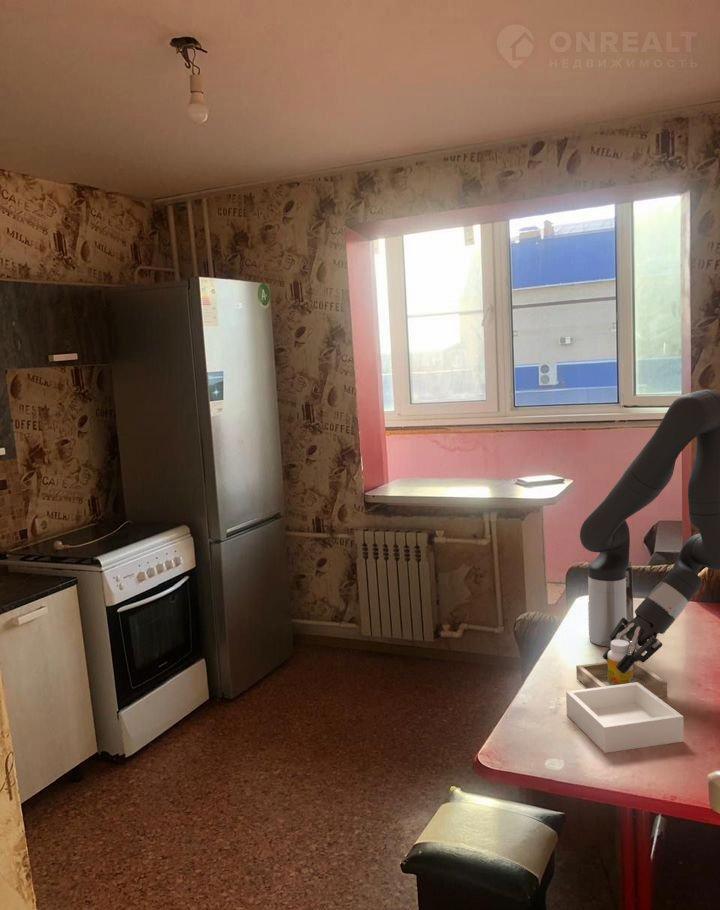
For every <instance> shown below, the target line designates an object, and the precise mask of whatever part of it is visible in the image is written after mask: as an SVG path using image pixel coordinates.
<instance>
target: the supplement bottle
mask: <svg viewBox="0 0 720 910" xmlns="http://www.w3.org/2000/svg"><path fill="white" fill-rule="evenodd" d="M630 648H631V645H630V644H629V642H628V641H625V640H612V641H611V649H612V650H610V651H609V652H608V676H607V683H608V686H612V685H620V684H627V683H634V675H633V665H632V666H631V667H630V668H629V669H628V671H626V672H625V673H622V672H620V671H619V670H618V669H617V668H616V666H617V665H618V664H619V662H620V661H621V660H622V659H623V658H624V656H625V655H626V654H627V655H628V652H629V650H630Z"/></svg>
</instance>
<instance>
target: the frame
mask: <svg viewBox="0 0 720 910" xmlns="http://www.w3.org/2000/svg"><path fill="white" fill-rule="evenodd" d="M575 668H576V680H578V681H579V682H580V681H581V682H580V683H582V684H583V685H584V686H585V687H586V689H589V688H597V687H604V686H606V685H605V684H604V683H603V682H601V680H599V679H598V678H603V677H608V662H607V661H603V662H602V661H601V662H595V663H586V664H579V665H576V666H575ZM634 676H635V678H637V679H638V680H640V681H641V682H642V683H640V684H641V685H642V686H643V687H645V688H646V689H647V690H649V691H650V692H651V693H653V694H654V695H655V696H657V697H658V698H663V697H668V682H667V681H665V680H664V679H663V678H661V677H659V676H658V675H657V674H655V673H654V672H653V671H651V670H650V669H648V668H646V667H645V666H644V665H642V664H641V663H640V662H639V661H637V662H636V661H635V662H634V663H633V677H634Z"/></svg>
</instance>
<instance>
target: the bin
mask: <svg viewBox="0 0 720 910" xmlns="http://www.w3.org/2000/svg"><path fill="white" fill-rule="evenodd" d="M641 684H642V683H640V682H639V681H638V682H633V683H627V684H620V685H612V686H610V685H605V686H604V687H597V688H584V689H576V690H568V691H566V692H565V694H566V695H565V701H566V704H565V705H566V716H567V717H568V718H569V719H570V720H571V721H573V723H575V725H577V727H578V728H580V730H582V732H583V733H584V734H585V735H586V736H588V738H589V739H590V740H591V741H592V742H593V743H595V745H596V746H597V747H598V748H599V749H600V750H601V751H602V752H603V753H604V754H607V753H615V752H619V751H628V750H633V749H641V748H648V747H649V748H650V747H656V746H662V745H668V744H676V743H682V742H684V715H682V714H681V713H680V712H678V711H677V710H675V709H674V708H673V707H672V706H670V705H669V704H668V703H666V702H665V701H664V700H662V699H661V698H660V697H657V696H655V695H654V694H653V693H651V692H650V691H649V690H647V689H646V688H645V687H643V686H642V685H641Z"/></svg>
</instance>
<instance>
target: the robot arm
mask: <svg viewBox="0 0 720 910" xmlns="http://www.w3.org/2000/svg"><path fill="white" fill-rule="evenodd" d="M695 438H696V451H695V458H694V461H693V462H694V463H693V466H692V469H691V474H690V477H689V481H688V487H687V502H688V514H689V515H688V517H689V521H690V523H691V525H693V526H694V527H695V528H697V530H698V531H699V532H698V533H696V534H693V535H692V536H689V538H687V540H686V541H684V543H683V545H682V547H681V549H680V551H679V553H678V555H677V556H676V557H677V558H676V559H675V561H674V564H673V567H672V568H671V569H670V570H669V572H668V573H667V574H666V575H665V576H664V577H663V579H662V580H661V581H660V582H659V583H658V584H657V585H656V586H655V587H654V588H653V589H652V590H651V591H650V592H649V593H648V594H647V596H646V597H645V598H644V599H643V600H642V601H641V603H640V604H639V605H638V606H637V607H636V608H635V610H634V614H635V617H634V619H633V620H631V621H628V620H627V618H626V570H627V568H628V565H629V562H630V549H631V548H630V546H631V545H630V544H631V543H630V542H631V540H630V538H631V536H630V528H629V525H628V522H627V519H629V518H630V517H632V516H633V515H635V514H637V513H638V512H639V511H641V510H642V509H645V507H647V506H648V505H650V504H651V503H652V502H653V501H654V500H656V498H658V496H659V495H660V494H661V493H662V492H663V490H664V489H665V488H666V486H668V484H669V483H670V482H671V480H672V478H673V476H674V471H675V465H676V461H677V459H678V457H679V456H680V454H681V452H683V450H684V449H685V448H686V447H687V446H688V445H689V444H690V443H691V442H692V441H693V440H694V439H695ZM580 527H581V528H580V531H579V539H580V542H581V545H582V547H583V548H584V549H586V550H587V551H589V552H591V553H598V556H597V557H596V558H595V559H594V560H593V561H592V562H589V565H588V567H587V577H588V578H587V579H588V582H587V583H588V584H587V585H588V586H587V587H588V601H587V602H588V603H587V607H588V609H587V610H588V611H587V612H588V615H587V616H588V636H589V641H590V642H591V643H592V644H595V645H596V646H597V645H598V646H601V647H608V648H607V649H606V651H605V652H604V654H603V655H602V658H603V659H604V660H605V662H608V652H609V651H610V650H612V649H611V641H612V640H625V641H628V642H629V644H630V649H629V652H628V655H627V654H626V655H625V656H624V658H623V659H622V660H621V661H620V662H619V664H618V665H617V666H616V668H617V669H618V670H619V671H620V672H622V673H625V672H626V671H628V669H629V668H630V667H631V666H632V665H633V663H634V662H635V661H636V662H641V663H643V664H644V663H646V662H647V660H648V659H650V658H652V656H653V655H654V654H655V653H657V651H658V650H660V649H661V647H663V643H662V642H661V640H659V639H658V638H657V636H658V634H662V635H664V634H665V633H666V631H667V630H668V629H670V627H671V626H672V625H673V624H674V622H675V621H676V619H678V617H679V616H680V615H681V614H682V613H683V611H684V610H685V609H686V607H687V605H688V604H689V602H690V601H691V600H692V599H693V598H694V597H695V595H696V594H697V593H698V591H699V590H700V589H701V587H702V585H703V580H702V578H701V577H700V576H699V572H700V570H701V568H702V567H705V568H707V569H709V570H712V571H719V572H720V392H718V391H716V390H714V389H701V390H697V391H692V392H689V393H685V394H682V395H680V396H678V397H677V398H676V399H674V400H673V402H672V403H671V405H670V406H669V407H668V409H667V411H666V412H665V414H664V416H663V418H662V420H661V421H660V423H659V425H658V427H657V428H656V430H655V432H654V433H653V435H651V438H650V439H649V440H648V442H647V443H646V444H645V445H644V447H643V448H642V449H641V451H640V452H639V453H638V454H637V456H636V457H635V458H634V459H633V460H632V461H631V463H630V464H629V466H628V467H627V469H626V470H625V471H624V473H623V474H622V475H621V477H620V478H619V480H618V481H617V482H616V484H614V486H613V488H612V489H611V490H610V492H609V493H608V494H607V496H605V498H604V500H603V501H602V502H601V503H600V504H599V505H598V506H597V507H596V509H594V510H593V512H591V513H590V514H589V515H588V516H587V518H585V519H584V521H583V522H582V524H581V526H580ZM643 654H644V655H643Z"/></svg>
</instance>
